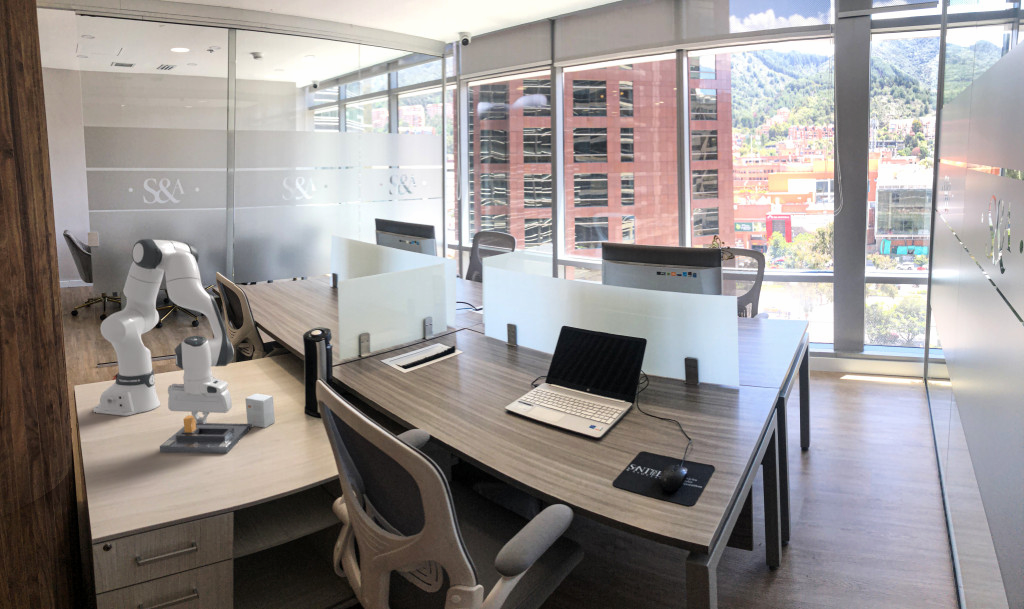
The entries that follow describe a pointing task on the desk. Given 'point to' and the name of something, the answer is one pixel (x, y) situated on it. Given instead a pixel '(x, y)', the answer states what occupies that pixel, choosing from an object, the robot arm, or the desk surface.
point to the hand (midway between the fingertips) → (201, 423)
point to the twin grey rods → (227, 424)
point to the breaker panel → (205, 439)
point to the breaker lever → (190, 425)
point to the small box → (260, 410)
